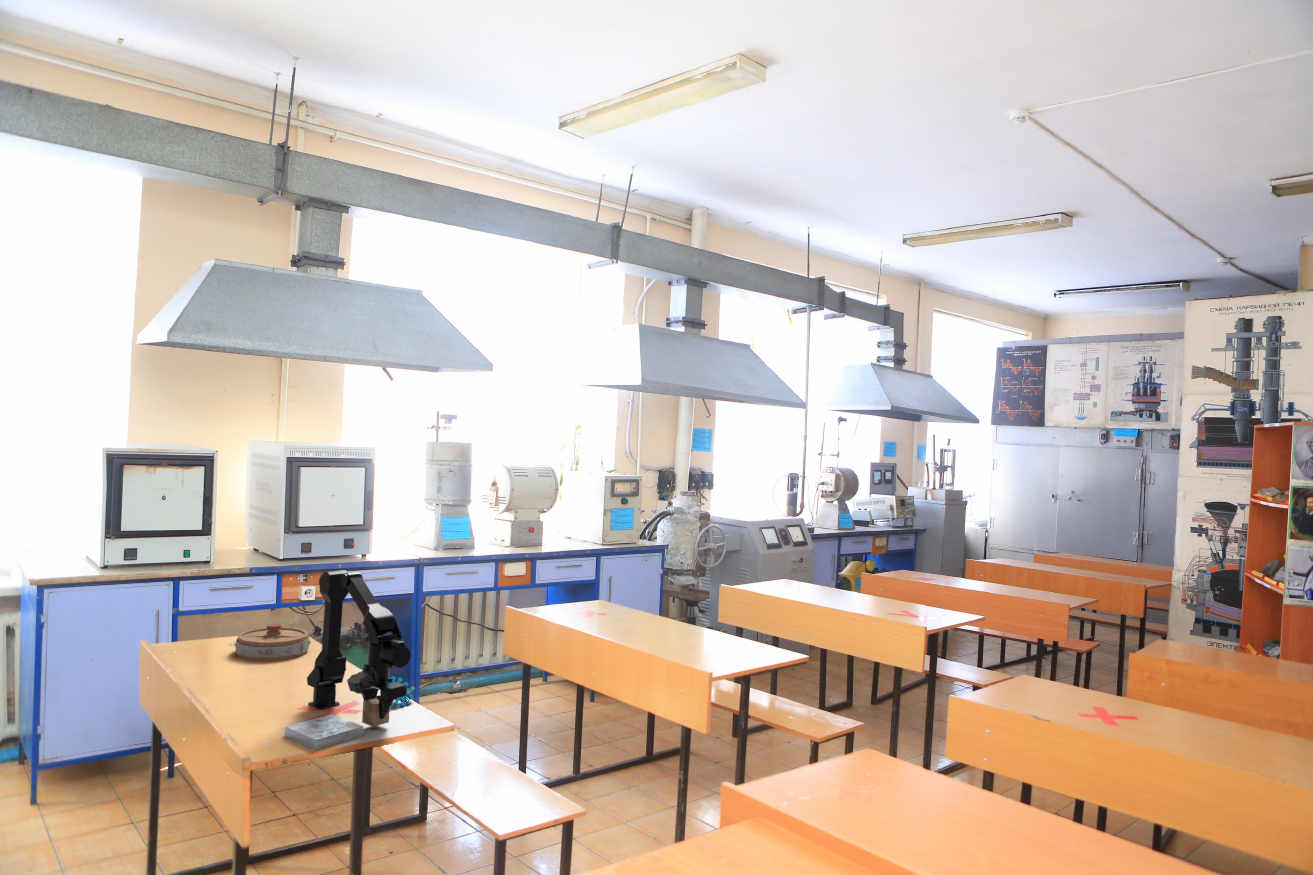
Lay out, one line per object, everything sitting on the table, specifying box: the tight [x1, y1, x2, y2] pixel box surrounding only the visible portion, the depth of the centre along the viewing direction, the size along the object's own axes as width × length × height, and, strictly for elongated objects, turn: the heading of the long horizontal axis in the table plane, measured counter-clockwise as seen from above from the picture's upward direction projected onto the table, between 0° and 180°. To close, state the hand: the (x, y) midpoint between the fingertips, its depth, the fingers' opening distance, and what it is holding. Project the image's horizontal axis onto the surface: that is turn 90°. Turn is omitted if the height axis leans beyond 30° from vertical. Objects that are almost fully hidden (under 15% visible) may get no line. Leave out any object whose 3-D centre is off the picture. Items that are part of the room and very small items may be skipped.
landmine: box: [234, 623, 311, 662], centre depth 301 cm, size 24×24×10 cm
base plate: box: [284, 713, 364, 751], centre depth 223 cm, size 14×14×2 cm
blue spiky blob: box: [387, 675, 415, 708], centre depth 253 cm, size 11×6×10 cm
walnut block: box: [361, 697, 391, 728], centre depth 232 cm, size 5×5×6 cm
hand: (375, 716), depth 232 cm, fingers closed on walnut block, 5 cm apart
